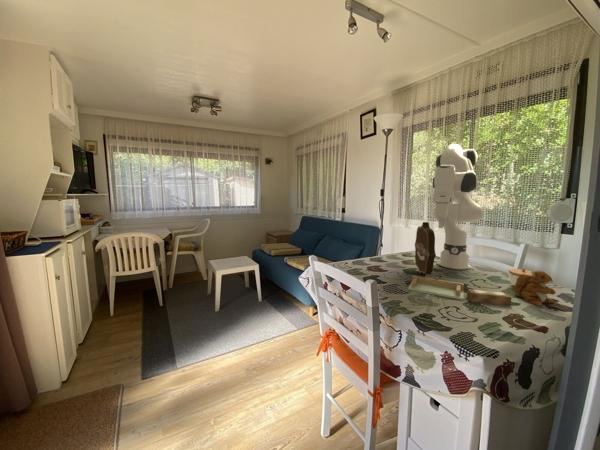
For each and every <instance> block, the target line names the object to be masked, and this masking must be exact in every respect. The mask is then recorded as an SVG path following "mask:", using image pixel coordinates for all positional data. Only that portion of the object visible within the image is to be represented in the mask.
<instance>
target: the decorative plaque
mask: <svg viewBox="0 0 600 450" xmlns="http://www.w3.org/2000/svg"><path fill="white" fill-rule="evenodd" d="M415 235H416V237H415V243H414V249H415V251H414V261H415V262H414V263H415V265H416V267H417V268H418V269H417V270H418V271H419V272H418V273H419V276H420V275H422V276H421V277H426V275H432V273H433V271H434V263H435V259H436V256H437V255H436V246H435V245H436V237H435V236H436V235H435V231H434V230H433V229H432V228H431V227H430V223H429V221H428V222H427V221H426V222H425V221H423V222H422V224H421V226H417V228H416V233H415Z"/></svg>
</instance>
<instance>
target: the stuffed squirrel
mask: <svg viewBox="0 0 600 450" xmlns="http://www.w3.org/2000/svg"><path fill="white" fill-rule="evenodd" d="M531 273H532V276H529V275H525V274H522V275H520V276H519V277H518V279H517V282H516V284H515V285H513V286H515V287H514V288H513V289H512V291H513V292H514V294H515V295H516V297H519V298H523V299H524V300H525V301H526V302H527V303H530V304H532V305H534V306H537V307H541V306H542V305H543V303H547V302H548V303H549V304H553V303H554V300H553V299H552V298H549V297H548V295H549V294H550V295H556V293H557V292H556V291H555V289H553V288H552V287H549V286H547V285H549V284H550V283H553V282H554V280H553V278H552V276H550V275H549V274H548V273H547V272H545V271H543V270H536V271H532V272H531Z"/></svg>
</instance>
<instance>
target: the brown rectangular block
mask: <svg viewBox="0 0 600 450" xmlns="http://www.w3.org/2000/svg"><path fill="white" fill-rule="evenodd" d="M466 293H467V294H466V298H467V299H468V300H469V301H470V302H472V303H481V304H490V305H500V306H512V296H511V295H510V294H509V293H506V292H504V291H494V290H492V291H491V290H484V289H483V290H482V289H473V288H467V291H466Z"/></svg>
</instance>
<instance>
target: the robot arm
mask: <svg viewBox="0 0 600 450" xmlns="http://www.w3.org/2000/svg"><path fill="white" fill-rule="evenodd" d="M435 159H436V160H435V163H434V165H435V167H436V169H435V173H434V174H435V175H434V176H433V178H432V188H433V194H432V196H433V197H432V202H433V203H435V205H434V206H435V208H434V210H433V216H434V218H435V220H437V221H438V229H443V228H444V234H445V235H444V236H445V239H444V243H443V250H442V251H440V255H439V256H440V257H439V261H436V263H435V264H436V265H439V266H441V267H443V268H447V269H454V270H469V269H470V270H471V269H473V268H472V265H470V263H469V261H470V260H469V257H470V255H469V253H467V248H468V247H467V235H468V234H467V231H466V230H465V229H463V228H461V227H459V226H458V225H457V224H456V223H475V222H479V221H481V220H482V219H483V217H484V208H483V207H482V206H481V205H480V204H478V203H476V202H475V201H474V200H473V199H472V197H471V196H470V193H472V192H473V191H474V190H475V189H476V188H477V186H478V177H477V175H476V173H475V171H474V168H473V167H474V166H476V164H477V161H478V153H477V152H476V149H474V148H468V149H463V148H462V147H461V145H460V144H457V143H454V144H453V143H452V144H448V146H446V147H445V148H444V149H443V151H442V153H441V154H440V155H437V157H436V158H435ZM454 202H456V203H454Z"/></svg>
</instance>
